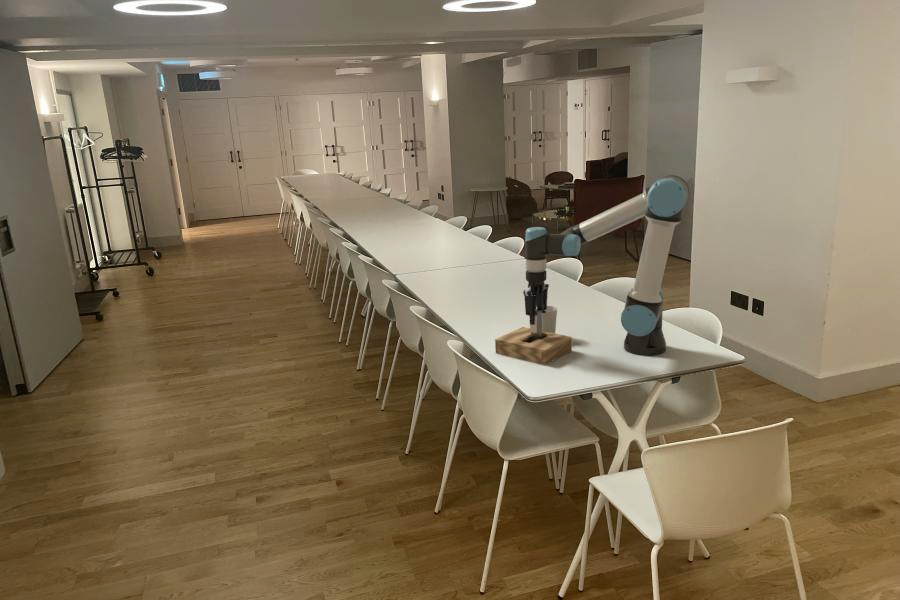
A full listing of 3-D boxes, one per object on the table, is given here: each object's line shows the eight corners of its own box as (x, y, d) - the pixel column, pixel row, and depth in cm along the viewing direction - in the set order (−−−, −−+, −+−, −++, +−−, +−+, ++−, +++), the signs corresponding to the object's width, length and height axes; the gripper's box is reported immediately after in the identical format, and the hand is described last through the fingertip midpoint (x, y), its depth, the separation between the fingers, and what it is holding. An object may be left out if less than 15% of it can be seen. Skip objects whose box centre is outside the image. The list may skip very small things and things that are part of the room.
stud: (545, 348, 250) (545, 310, 246) (538, 351, 246) (538, 313, 242) (534, 345, 253) (534, 308, 249) (527, 349, 249) (526, 311, 245)
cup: (542, 341, 259) (541, 312, 255) (533, 335, 266) (533, 307, 263) (560, 339, 261) (560, 309, 257) (552, 333, 268) (552, 304, 265)
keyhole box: (571, 350, 247) (571, 336, 246) (545, 365, 234) (544, 350, 233) (523, 340, 261) (523, 326, 260) (495, 353, 248) (495, 339, 247)
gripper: (539, 264, 250) (540, 323, 256) (514, 273, 238) (515, 334, 244) (556, 266, 245) (556, 327, 251) (531, 275, 233) (532, 338, 239)
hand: (536, 330), depth 248 cm, fingers closed on stud, 3 cm apart
